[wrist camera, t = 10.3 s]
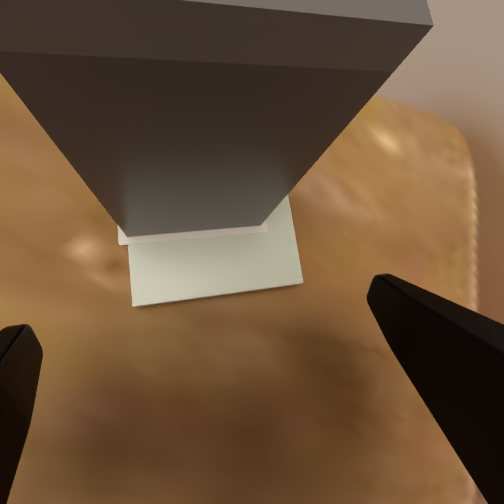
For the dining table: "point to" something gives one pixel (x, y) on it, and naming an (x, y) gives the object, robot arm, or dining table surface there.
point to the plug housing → (200, 95)
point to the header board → (214, 261)
